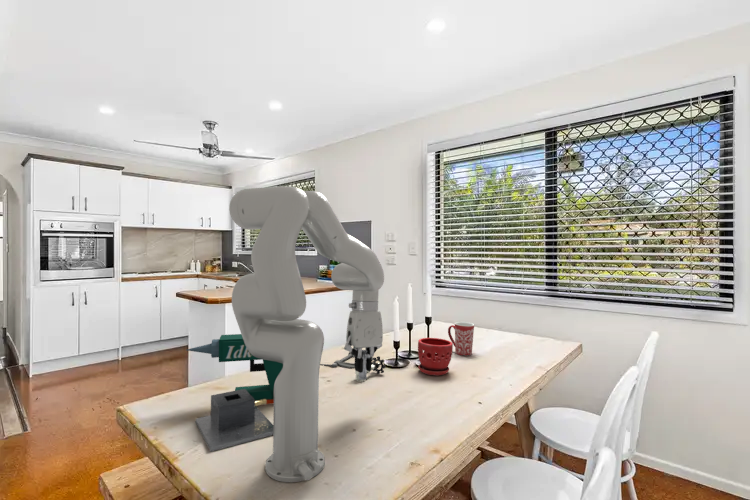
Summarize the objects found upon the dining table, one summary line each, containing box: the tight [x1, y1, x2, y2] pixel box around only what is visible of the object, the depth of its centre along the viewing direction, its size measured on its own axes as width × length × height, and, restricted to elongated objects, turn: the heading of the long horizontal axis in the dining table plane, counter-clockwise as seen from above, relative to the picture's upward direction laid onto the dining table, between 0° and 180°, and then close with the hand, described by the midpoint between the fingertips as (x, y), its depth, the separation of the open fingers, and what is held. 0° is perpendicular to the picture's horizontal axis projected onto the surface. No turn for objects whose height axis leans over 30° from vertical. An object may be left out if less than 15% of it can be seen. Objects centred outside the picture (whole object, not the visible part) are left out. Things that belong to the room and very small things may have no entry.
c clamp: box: [320, 351, 374, 369], centre depth 162 cm, size 20×17×3 cm
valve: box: [354, 356, 387, 383], centre depth 143 cm, size 7×7×12 cm
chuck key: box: [359, 349, 371, 380], centre depth 113 cm, size 6×2×8 cm, turn 35°
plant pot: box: [417, 337, 454, 376], centre depth 150 cm, size 13×13×12 cm
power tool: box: [186, 333, 283, 405], centre depth 118 cm, size 32×7×20 cm, turn 105°
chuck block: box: [195, 389, 273, 453], centre depth 102 cm, size 18×17×7 cm
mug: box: [447, 321, 475, 356], centre depth 178 cm, size 13×9×14 cm
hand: (362, 370), depth 113 cm, fingers closed on chuck key, 2 cm apart
